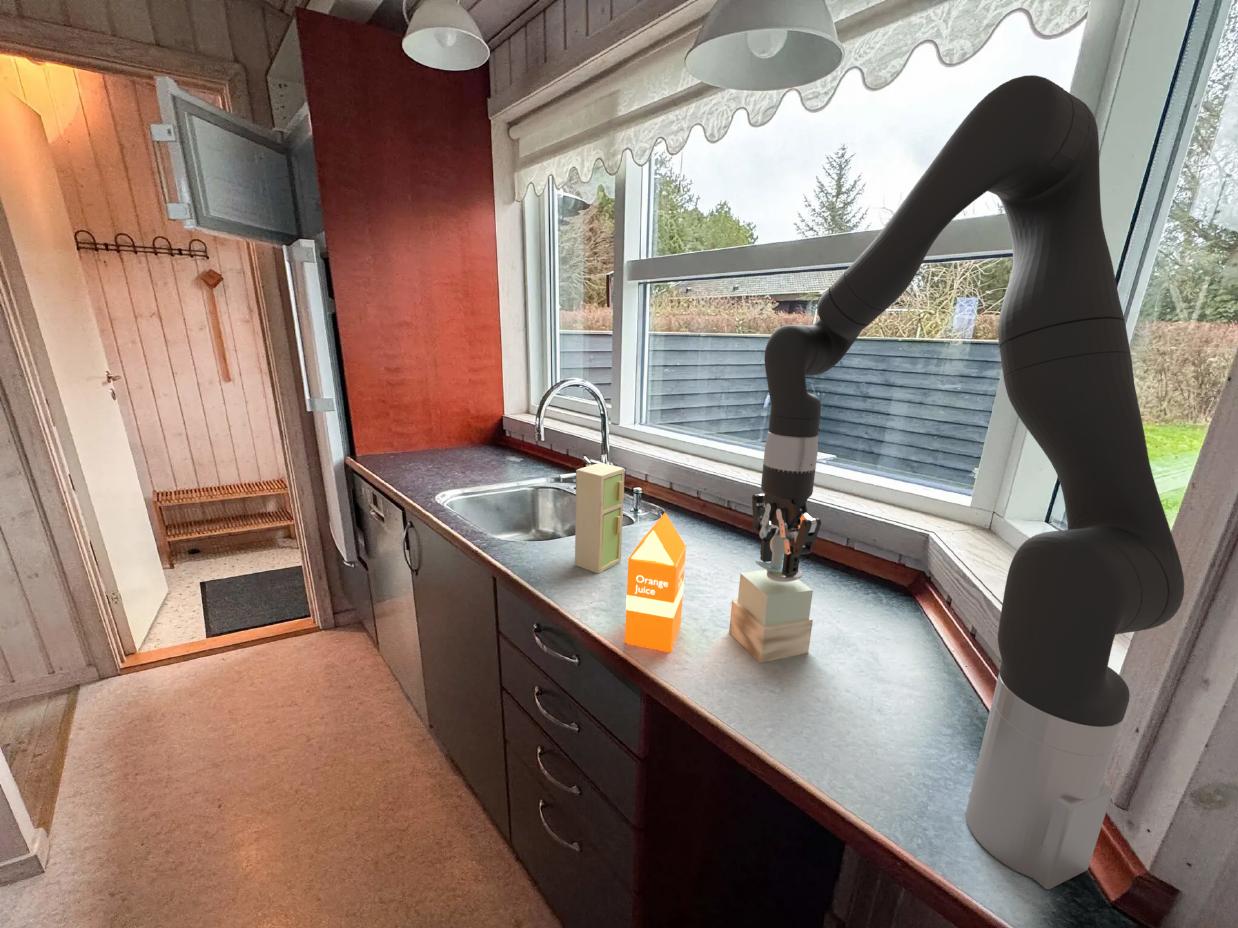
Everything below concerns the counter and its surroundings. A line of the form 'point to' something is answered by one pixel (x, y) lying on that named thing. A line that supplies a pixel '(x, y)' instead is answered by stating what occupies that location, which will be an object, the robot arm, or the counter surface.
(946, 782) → the counter surface
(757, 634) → the maple block
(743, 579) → the sage block
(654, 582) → the orange juice
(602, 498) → the toy refrigerator
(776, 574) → the pacifier
